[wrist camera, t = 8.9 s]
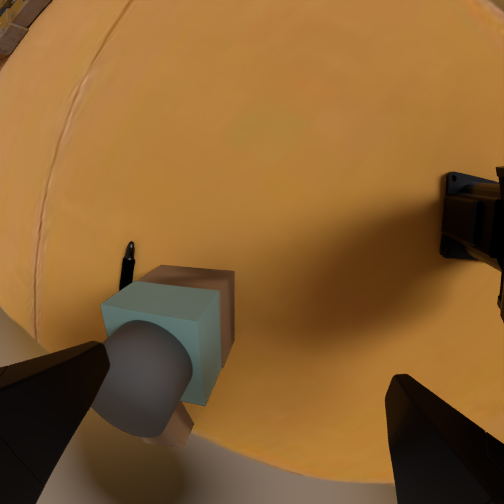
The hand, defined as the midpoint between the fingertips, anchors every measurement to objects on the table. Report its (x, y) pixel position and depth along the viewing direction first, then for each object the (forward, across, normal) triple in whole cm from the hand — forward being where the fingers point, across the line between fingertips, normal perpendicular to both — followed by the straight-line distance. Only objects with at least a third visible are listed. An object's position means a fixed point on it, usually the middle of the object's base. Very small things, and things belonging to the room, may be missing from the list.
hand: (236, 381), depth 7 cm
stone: (+5, +6, +4) cm, 9 cm away
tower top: (+9, +6, +4) cm, 12 cm away
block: (+13, +11, +18) cm, 25 cm away
